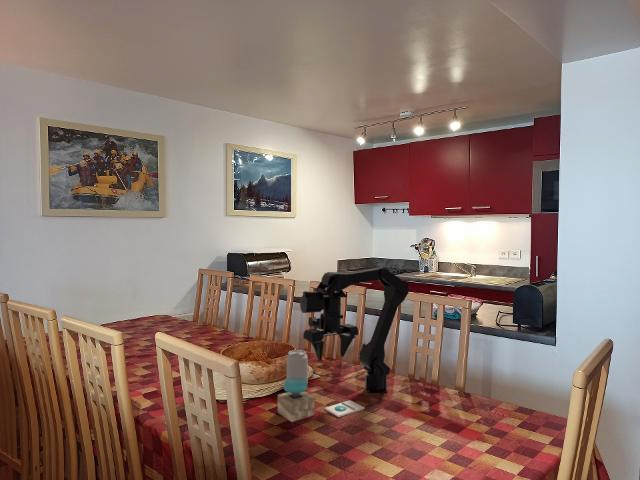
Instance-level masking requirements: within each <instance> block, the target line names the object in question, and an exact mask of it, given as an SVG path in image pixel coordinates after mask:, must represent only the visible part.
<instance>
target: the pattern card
mask: <svg viewBox="0 0 640 480" xmlns="http://www.w3.org/2000/svg"><path fill="white" fill-rule="evenodd" d="M362 410H365V407H364V406H362V405H360V404H358V403H356V402H354V401H352V400H349V399H348V400H345V401H343V402H340V403H337V404H336V403H335V404H334V405H330V406H327V407H324V411H326V412H328V413H330V414H332V415H334V416H336V417H337V418H341V417H344V416H347V415H350V414H353V413H356V412H359V411H362Z"/></svg>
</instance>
